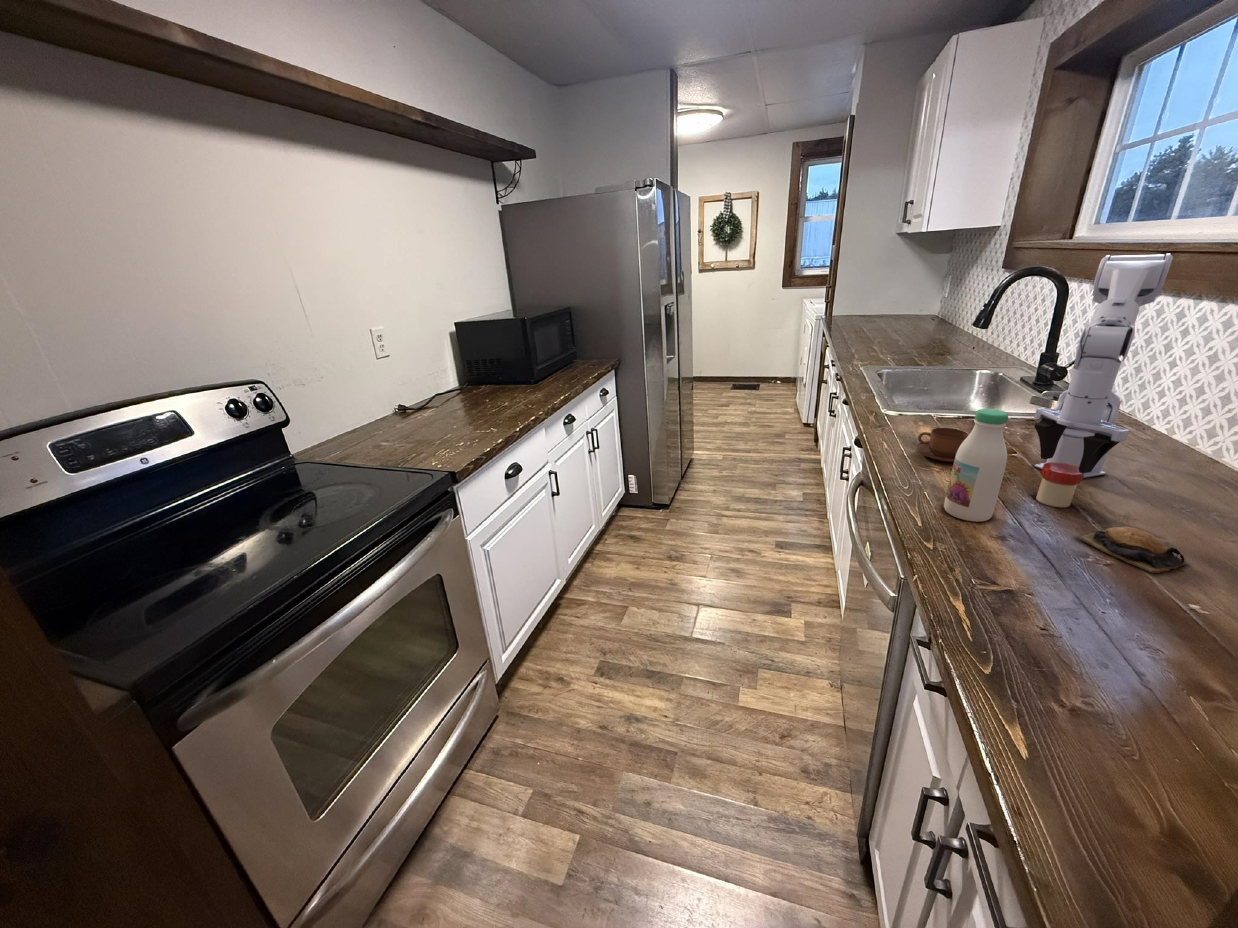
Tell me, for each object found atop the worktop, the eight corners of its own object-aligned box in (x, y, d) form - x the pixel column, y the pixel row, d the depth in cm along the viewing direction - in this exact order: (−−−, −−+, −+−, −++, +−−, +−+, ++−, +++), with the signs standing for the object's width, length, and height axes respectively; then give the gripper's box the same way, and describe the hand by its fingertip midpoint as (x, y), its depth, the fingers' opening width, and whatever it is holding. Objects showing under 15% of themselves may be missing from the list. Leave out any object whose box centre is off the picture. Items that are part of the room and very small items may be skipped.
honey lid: (1032, 474, 97) (1035, 464, 96) (1058, 470, 98) (1061, 460, 97) (1062, 486, 92) (1066, 476, 91) (1090, 482, 93) (1093, 472, 92)
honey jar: (1049, 493, 100) (1059, 464, 97) (1077, 505, 95) (1088, 474, 93) (1029, 497, 99) (1038, 468, 96) (1056, 509, 94) (1066, 478, 91)
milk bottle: (984, 505, 96) (1011, 406, 89) (997, 525, 90) (1027, 419, 82) (938, 501, 99) (960, 404, 91) (948, 519, 92) (973, 416, 84)
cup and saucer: (919, 463, 116) (924, 438, 114) (912, 446, 126) (917, 423, 124) (980, 469, 112) (986, 443, 110) (968, 450, 122) (973, 426, 120)
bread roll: (1074, 540, 84) (1080, 521, 83) (1111, 531, 86) (1118, 513, 85) (1151, 575, 75) (1159, 554, 73) (1190, 564, 76) (1200, 544, 75)
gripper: (1029, 388, 94) (1011, 454, 100) (1115, 408, 81) (1089, 483, 87) (1059, 384, 96) (1040, 449, 101) (1148, 403, 83) (1121, 477, 88)
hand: (1064, 464), depth 94 cm, fingers open, 6 cm apart
